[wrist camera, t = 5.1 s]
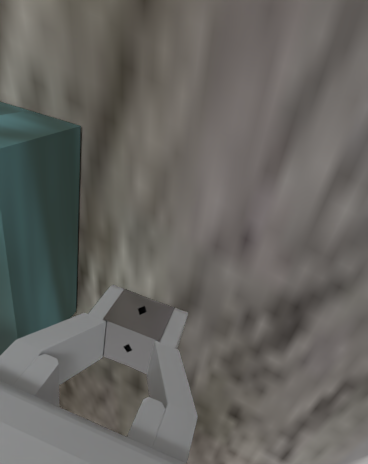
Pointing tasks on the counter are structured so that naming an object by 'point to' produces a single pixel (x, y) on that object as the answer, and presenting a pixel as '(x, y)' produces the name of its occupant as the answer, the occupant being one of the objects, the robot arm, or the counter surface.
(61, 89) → the counter surface
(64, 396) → the counter surface
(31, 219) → the block
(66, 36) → the counter surface
